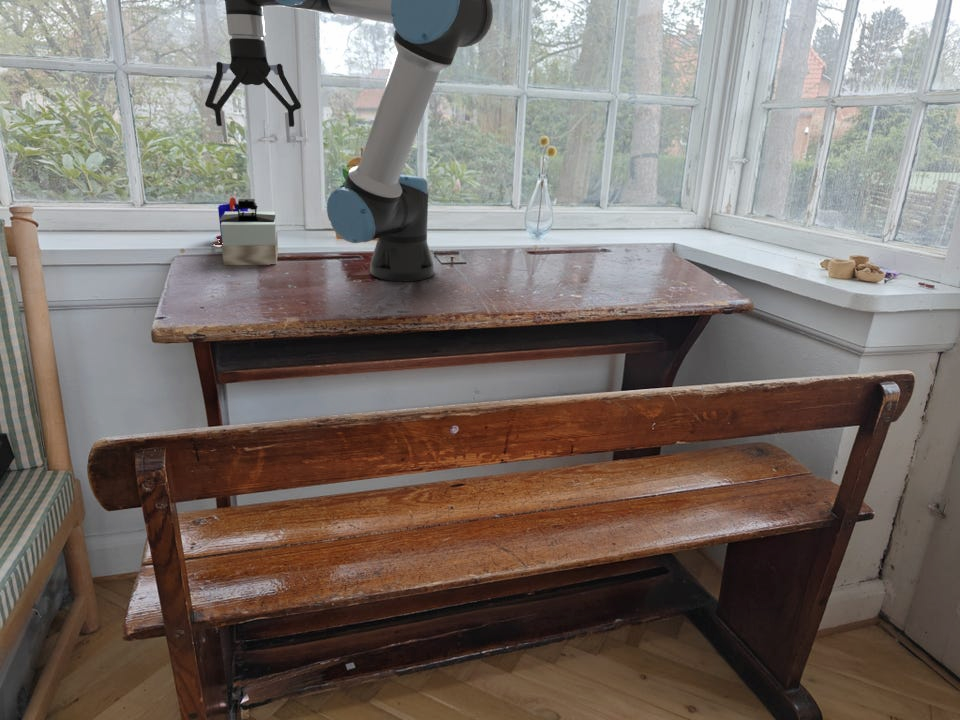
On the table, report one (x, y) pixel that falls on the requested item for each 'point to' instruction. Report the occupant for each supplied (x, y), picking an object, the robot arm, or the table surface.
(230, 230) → the top block
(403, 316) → the table surface
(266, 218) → the build plate
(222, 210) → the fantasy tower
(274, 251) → the base block
